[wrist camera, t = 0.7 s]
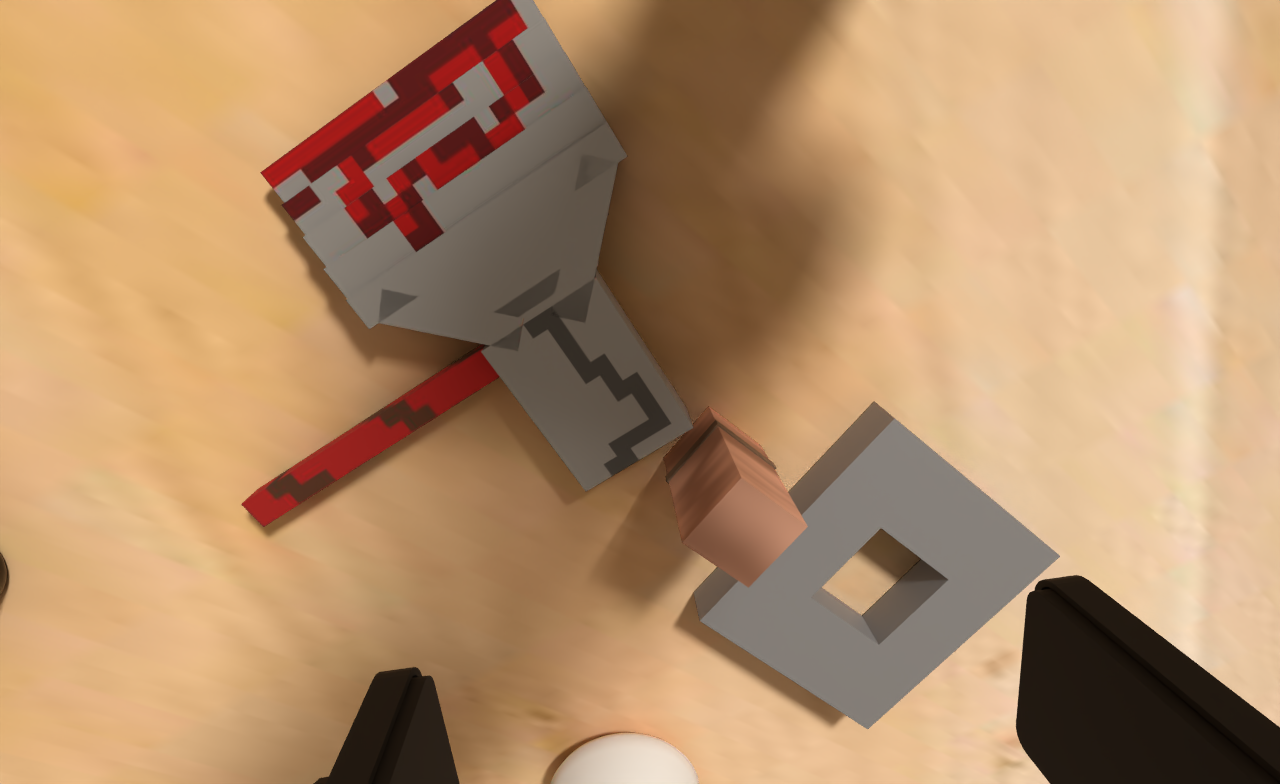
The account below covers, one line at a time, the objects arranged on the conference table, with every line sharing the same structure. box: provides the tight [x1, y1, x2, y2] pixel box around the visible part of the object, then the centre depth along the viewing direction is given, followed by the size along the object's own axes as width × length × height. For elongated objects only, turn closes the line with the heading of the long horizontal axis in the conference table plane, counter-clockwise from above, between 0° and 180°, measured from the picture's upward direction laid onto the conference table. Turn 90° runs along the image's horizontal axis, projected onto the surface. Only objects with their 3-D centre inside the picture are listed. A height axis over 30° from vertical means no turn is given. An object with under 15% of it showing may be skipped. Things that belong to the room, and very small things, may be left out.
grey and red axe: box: [242, 0, 693, 527], centre depth 37 cm, size 24×4×30 cm
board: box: [694, 402, 1060, 729], centre depth 43 cm, size 18×16×3 cm
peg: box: [664, 406, 808, 588], centre depth 37 cm, size 5×5×10 cm
